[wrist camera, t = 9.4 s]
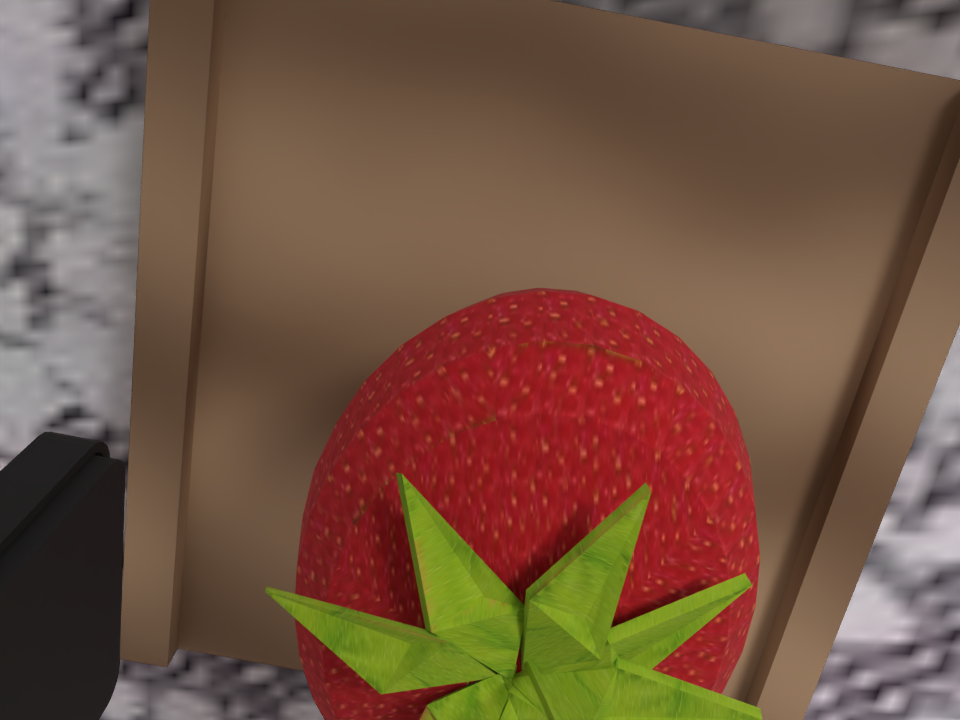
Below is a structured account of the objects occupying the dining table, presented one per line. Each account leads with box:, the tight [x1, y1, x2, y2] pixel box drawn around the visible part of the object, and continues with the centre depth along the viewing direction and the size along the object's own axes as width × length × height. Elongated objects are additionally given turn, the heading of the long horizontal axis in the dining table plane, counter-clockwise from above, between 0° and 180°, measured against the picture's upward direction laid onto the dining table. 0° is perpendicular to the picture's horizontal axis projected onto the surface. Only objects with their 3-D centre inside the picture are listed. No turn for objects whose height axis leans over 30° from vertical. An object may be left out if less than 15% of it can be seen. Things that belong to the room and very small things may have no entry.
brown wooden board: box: [120, 0, 960, 720], centre depth 18 cm, size 14×14×3 cm
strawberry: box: [265, 288, 763, 720], centre depth 12 cm, size 6×8×10 cm
